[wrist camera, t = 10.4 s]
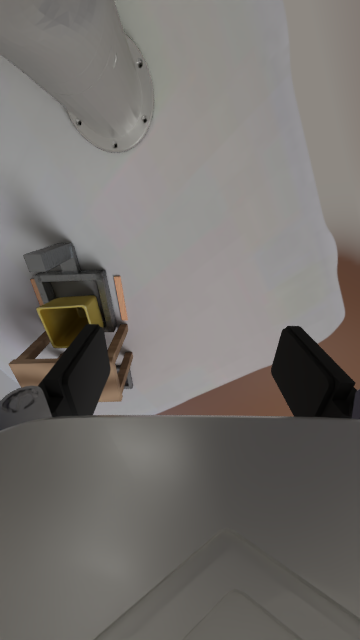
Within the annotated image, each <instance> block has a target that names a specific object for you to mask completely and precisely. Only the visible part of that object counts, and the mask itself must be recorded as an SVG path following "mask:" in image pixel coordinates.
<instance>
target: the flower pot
mask: <svg viewBox="0 0 360 640" xmlns="http://www.w3.org/2000/svg"><path fill="white" fill-rule="evenodd" d="M79 307H81V309H80V308H79ZM36 310H37V313H38V315H39V317H40V319H41V321H42V323H43V326H44V328H45V330H46V332H47V335H48V337H49V339H50V341H51V344H52V346H53V347H54V348H68V347H69V345H70V344H71V343H72V342H73V340H74V339H75V338H76V337H77V335H78V334H79V333H80V331H81V330H82V329H83V328H84V326H85V325H86V324H99V326H100V327H103V320H102V316H101V312H100V309H99V305H98V302H97V298H96V296H94V295H88V296H71V297H61V298H57V299H54V300H52V301H50V302H48V303H46V304H44V305H42V306H40V307H38V308H36Z"/></svg>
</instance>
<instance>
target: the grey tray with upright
mask: <svg viewBox="0 0 360 640" xmlns="http://www.w3.org/2000/svg"><path fill="white" fill-rule="evenodd" d="M23 256H24V259H25V262H26V264H27V267H28V269H29V272H40V273H38V274H36V275H34V276H33V277H34V280H35V282H36V285H37V288H38V290H39V293H40V296H41V298H42V301H43V304H46V303H48V302H50V301H52V300H54V299H56V298H55V295H54V292H53V289H52V286H51V283H50V281H84V280H96V281H97V285H98V290H99V294H100V299H101V303H102V307H103V312H104V316H105V320H106V322H103V330H104V332H114V331H115V329H116V327H117V325H116V320H115V315H114V310H113V305H112V300H111V296H110V291H109V286H108V281H107V276H106V271H105V270H90V271H80V267H79V263H78V260H77V256H76V252H75V248H74V246H72V243H57V244H54V245H51V246H48V247H45V248H42V249H39V250H36V251H33V252H30V253H27V254H25V255H23ZM58 265H60V267H61V270H62V271H57V272H46V271H48V270H50V269H52V268H54V267H56V266H58Z"/></svg>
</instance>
